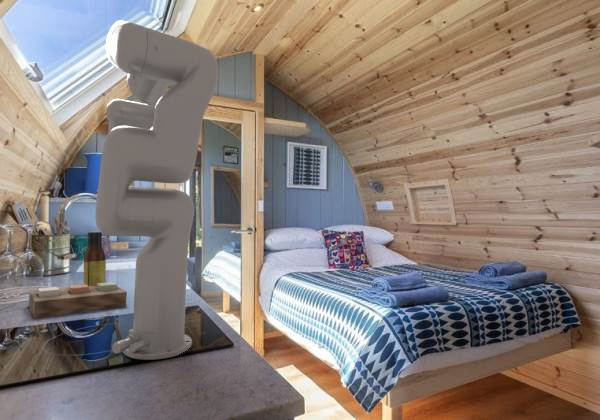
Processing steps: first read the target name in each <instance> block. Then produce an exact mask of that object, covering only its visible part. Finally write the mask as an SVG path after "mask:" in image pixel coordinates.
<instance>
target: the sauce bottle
mask: <svg viewBox="0 0 600 420" xmlns="http://www.w3.org/2000/svg"><path fill="white" fill-rule="evenodd" d="M87 237H88V243H87V247H86V249H85V251H84V254H83V285H84V284H86V285H88V286H96V285H97V283H107V277H106V276H107V275H106V273H107V272H106V271H107V264H106V262H107V261H106V260H107V259H106V258H107V257H106V253H105V251H104V247H103V245H102V237H103V233H101V232H100V231H88V232H87Z"/></svg>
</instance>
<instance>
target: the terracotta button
mask: <svg viewBox="0 0 600 420" xmlns="http://www.w3.org/2000/svg"><path fill="white" fill-rule="evenodd" d="M68 288H69V294H79V293H89V286H88V285H86V284H84V283H83V284H75V285H69V286H68Z"/></svg>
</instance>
